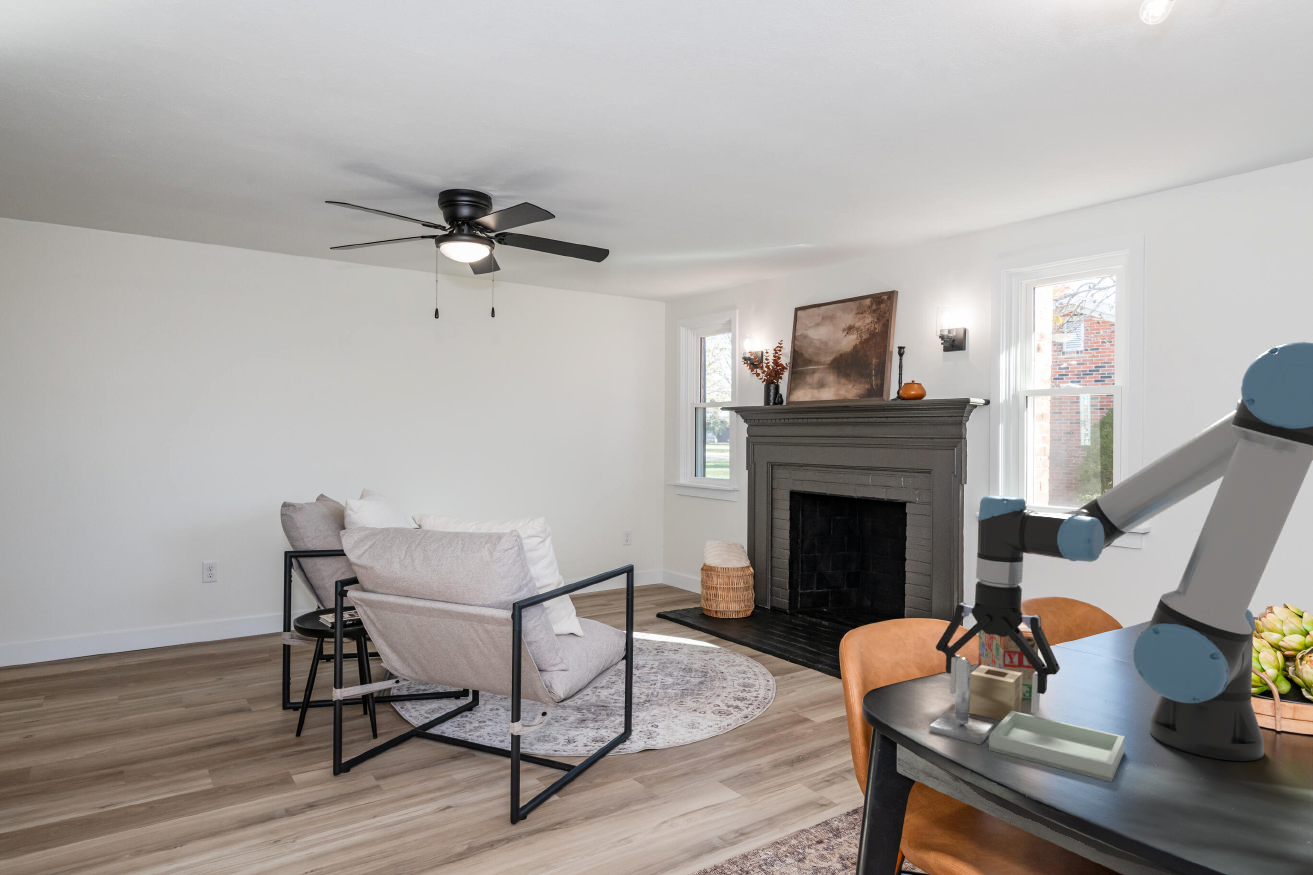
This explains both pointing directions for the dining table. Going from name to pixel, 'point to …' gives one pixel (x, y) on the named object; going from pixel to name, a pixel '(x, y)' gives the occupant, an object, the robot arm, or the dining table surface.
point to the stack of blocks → (1008, 656)
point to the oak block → (995, 692)
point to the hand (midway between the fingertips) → (993, 701)
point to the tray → (1059, 745)
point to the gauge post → (962, 712)
